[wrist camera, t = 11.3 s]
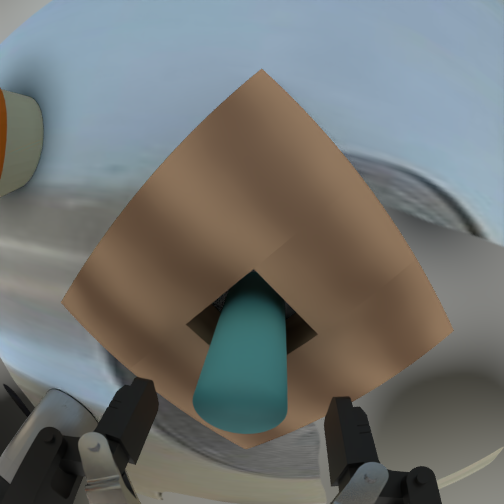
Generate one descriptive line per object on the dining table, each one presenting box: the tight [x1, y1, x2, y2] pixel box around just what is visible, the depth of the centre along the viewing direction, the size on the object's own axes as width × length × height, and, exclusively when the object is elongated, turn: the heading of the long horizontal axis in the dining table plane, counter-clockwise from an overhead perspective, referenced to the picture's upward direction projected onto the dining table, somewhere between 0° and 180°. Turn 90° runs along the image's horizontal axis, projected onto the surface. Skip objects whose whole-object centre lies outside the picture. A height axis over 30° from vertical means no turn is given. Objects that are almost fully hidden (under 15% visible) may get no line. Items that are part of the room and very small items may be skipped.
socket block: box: [61, 69, 454, 449], centre depth 18 cm, size 20×20×4 cm
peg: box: [193, 272, 288, 434], centre depth 15 cm, size 4×4×10 cm
